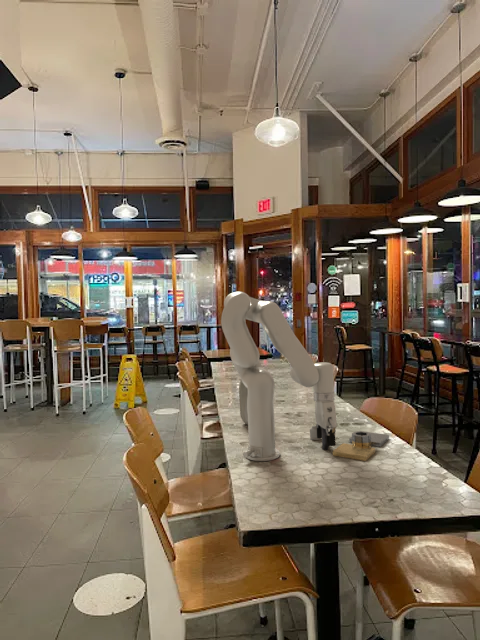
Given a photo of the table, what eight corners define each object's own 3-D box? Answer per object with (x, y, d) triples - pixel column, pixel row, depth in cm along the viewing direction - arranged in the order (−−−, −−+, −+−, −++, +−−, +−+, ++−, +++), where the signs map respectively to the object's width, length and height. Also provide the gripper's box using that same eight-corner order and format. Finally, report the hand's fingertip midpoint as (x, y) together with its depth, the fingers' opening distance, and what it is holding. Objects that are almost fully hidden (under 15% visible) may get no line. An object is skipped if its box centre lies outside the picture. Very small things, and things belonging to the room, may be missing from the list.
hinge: (365, 461, 152) (365, 446, 151) (332, 455, 158) (332, 441, 158) (389, 438, 174) (388, 426, 174) (359, 434, 181) (358, 422, 181)
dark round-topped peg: (327, 450, 163) (326, 427, 163) (320, 449, 165) (319, 426, 165) (330, 448, 166) (330, 424, 166) (323, 447, 168) (322, 423, 167)
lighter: (310, 439, 177) (309, 419, 177) (310, 438, 179) (309, 418, 178) (328, 439, 177) (327, 419, 176) (327, 437, 178) (327, 418, 178)
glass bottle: (261, 427, 197) (258, 364, 196) (238, 426, 199) (235, 364, 198) (264, 421, 207) (262, 361, 206) (242, 420, 209) (240, 361, 208)
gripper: (343, 400, 157) (345, 448, 158) (324, 390, 174) (326, 434, 175) (322, 402, 156) (325, 450, 156) (306, 392, 173) (308, 436, 173)
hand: (326, 441), depth 165 cm, fingers open, 9 cm apart
